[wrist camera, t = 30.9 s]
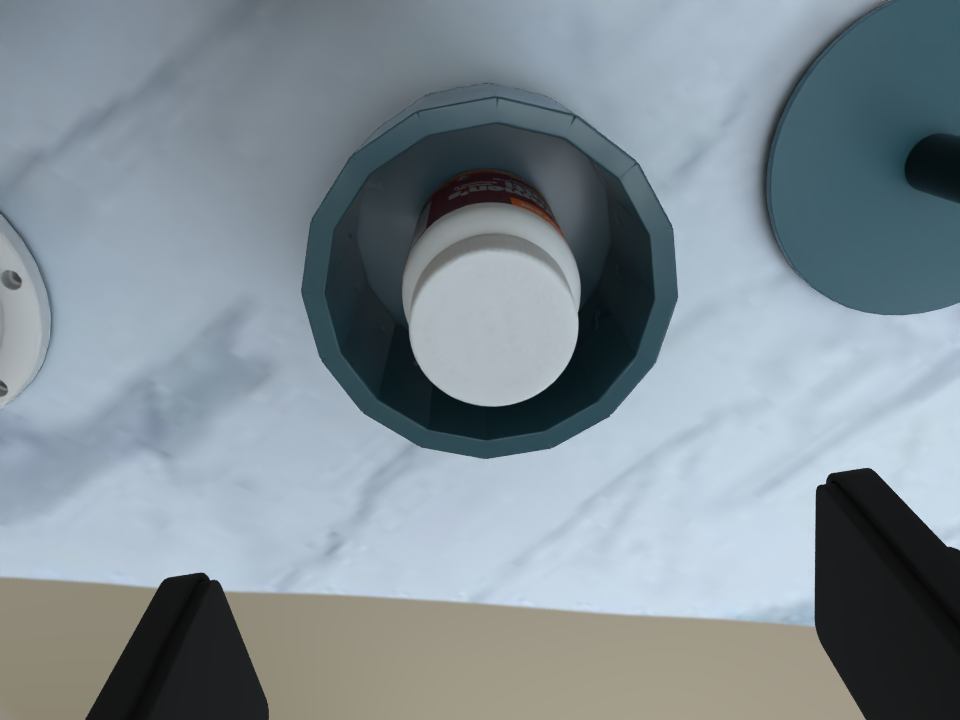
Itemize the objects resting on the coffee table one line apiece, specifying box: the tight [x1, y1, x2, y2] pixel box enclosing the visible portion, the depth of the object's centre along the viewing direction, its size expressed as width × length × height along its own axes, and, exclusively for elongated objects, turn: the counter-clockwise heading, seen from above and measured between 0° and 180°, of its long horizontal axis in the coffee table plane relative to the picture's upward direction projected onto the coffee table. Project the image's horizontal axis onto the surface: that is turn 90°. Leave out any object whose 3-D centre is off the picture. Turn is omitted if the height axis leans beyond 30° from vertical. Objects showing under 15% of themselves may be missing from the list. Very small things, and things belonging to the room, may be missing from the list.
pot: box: [301, 83, 678, 459], centre depth 29 cm, size 13×13×8 cm
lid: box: [766, 0, 960, 315], centre depth 30 cm, size 14×14×5 cm
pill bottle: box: [402, 169, 581, 406], centre depth 27 cm, size 6×6×11 cm
